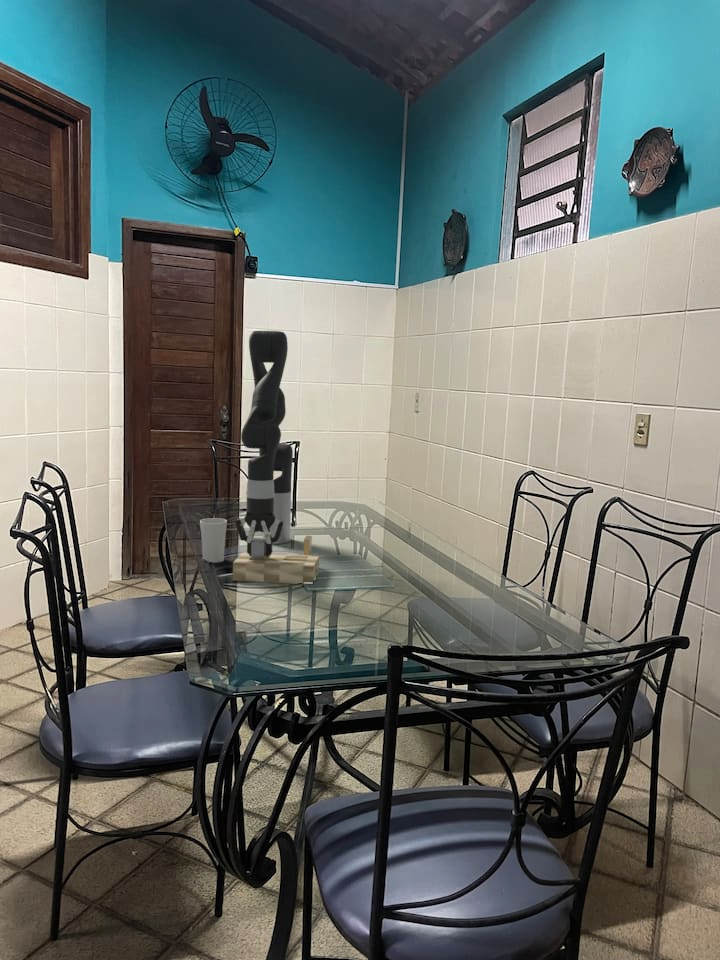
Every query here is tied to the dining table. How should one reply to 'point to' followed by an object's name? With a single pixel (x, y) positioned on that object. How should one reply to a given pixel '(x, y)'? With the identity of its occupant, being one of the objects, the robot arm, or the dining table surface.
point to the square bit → (258, 549)
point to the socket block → (276, 568)
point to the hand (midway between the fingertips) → (259, 555)
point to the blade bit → (308, 545)
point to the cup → (213, 539)
